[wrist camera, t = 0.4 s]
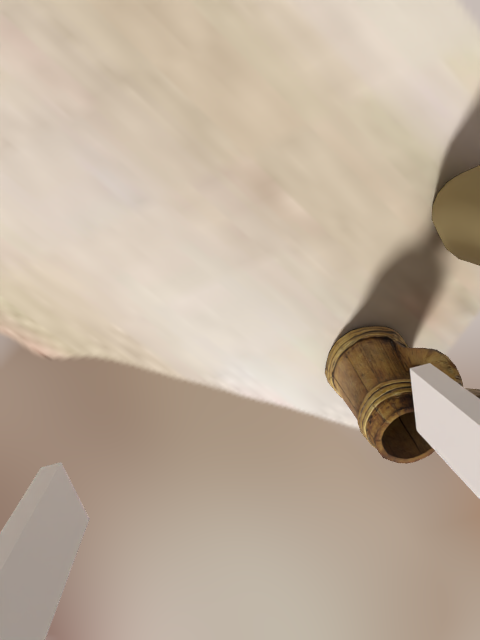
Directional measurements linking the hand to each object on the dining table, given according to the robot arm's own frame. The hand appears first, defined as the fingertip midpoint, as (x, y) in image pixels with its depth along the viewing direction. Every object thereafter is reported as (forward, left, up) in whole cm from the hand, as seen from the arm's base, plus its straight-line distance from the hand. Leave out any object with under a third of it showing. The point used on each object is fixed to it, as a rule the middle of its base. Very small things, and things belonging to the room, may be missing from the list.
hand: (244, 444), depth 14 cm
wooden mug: (0, +18, -23) cm, 30 cm away
